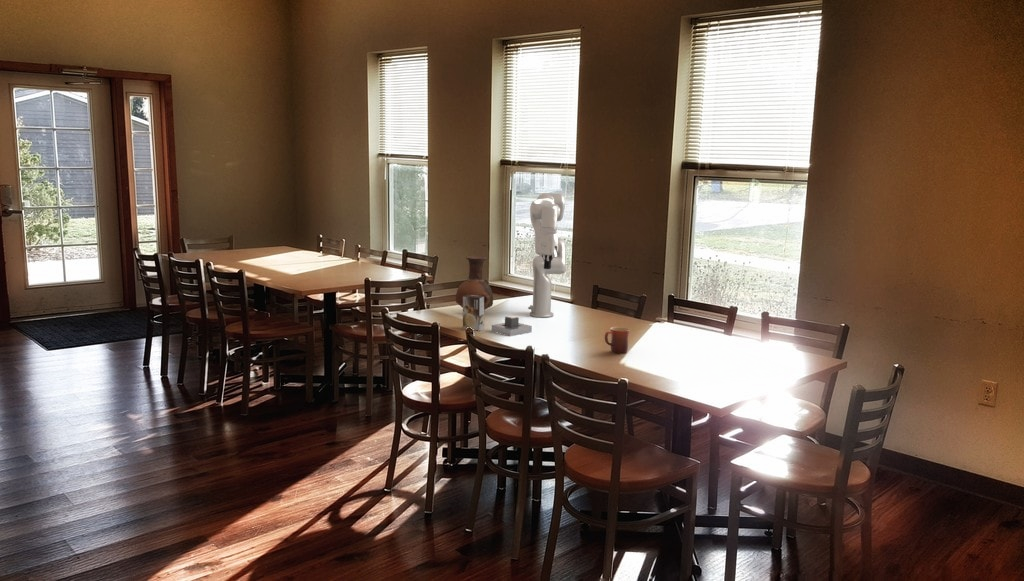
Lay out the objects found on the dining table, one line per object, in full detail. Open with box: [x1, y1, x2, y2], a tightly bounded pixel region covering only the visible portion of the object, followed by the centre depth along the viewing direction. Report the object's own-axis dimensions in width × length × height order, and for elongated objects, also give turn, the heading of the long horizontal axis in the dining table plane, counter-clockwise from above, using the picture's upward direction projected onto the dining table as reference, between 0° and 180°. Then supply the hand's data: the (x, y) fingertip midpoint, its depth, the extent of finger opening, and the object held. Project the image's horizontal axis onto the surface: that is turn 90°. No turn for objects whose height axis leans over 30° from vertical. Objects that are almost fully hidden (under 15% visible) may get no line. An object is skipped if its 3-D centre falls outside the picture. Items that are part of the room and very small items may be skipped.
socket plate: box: [491, 322, 533, 337], centre depth 377 cm, size 13×14×4 cm
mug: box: [604, 326, 631, 354], centre depth 342 cm, size 12×9×10 cm
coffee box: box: [462, 295, 485, 332], centre depth 380 cm, size 9×6×16 cm
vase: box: [455, 255, 494, 311], centre depth 414 cm, size 25×20×30 cm
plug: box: [504, 315, 520, 328], centre depth 377 cm, size 5×5×7 cm
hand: (547, 268), depth 383 cm, fingers closed
